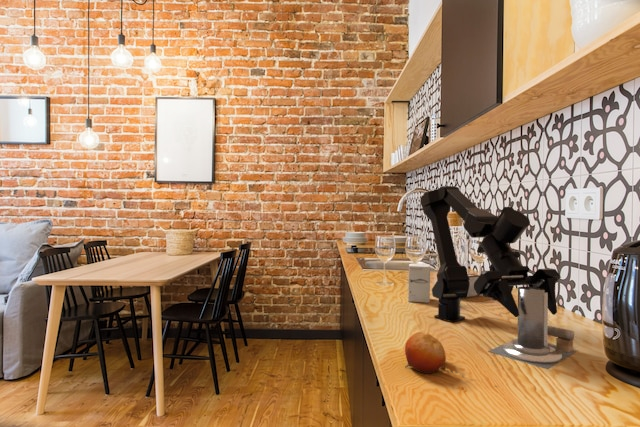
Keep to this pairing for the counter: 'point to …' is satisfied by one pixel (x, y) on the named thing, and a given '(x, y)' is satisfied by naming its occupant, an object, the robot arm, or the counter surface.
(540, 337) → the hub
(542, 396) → the counter surface
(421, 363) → the fruit
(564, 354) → the board
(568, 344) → the bar handle
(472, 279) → the tin
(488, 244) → the robot arm
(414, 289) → the supplement box
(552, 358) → the flange disc
